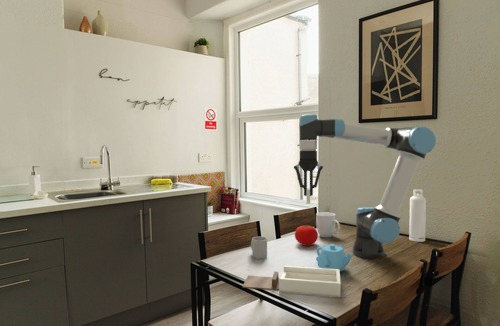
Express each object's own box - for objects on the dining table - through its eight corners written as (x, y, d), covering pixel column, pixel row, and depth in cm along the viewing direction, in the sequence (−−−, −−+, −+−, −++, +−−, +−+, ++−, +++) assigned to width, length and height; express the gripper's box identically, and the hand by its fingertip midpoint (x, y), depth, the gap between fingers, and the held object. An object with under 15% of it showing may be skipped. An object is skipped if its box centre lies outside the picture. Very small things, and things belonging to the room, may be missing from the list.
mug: (344, 237, 202) (345, 214, 201) (334, 241, 194) (334, 218, 193) (323, 232, 212) (323, 211, 211) (312, 236, 205) (312, 214, 204)
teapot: (354, 276, 143) (354, 249, 143) (321, 277, 143) (321, 250, 142) (343, 263, 159) (343, 239, 158) (313, 264, 158) (313, 240, 157)
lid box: (339, 282, 138) (339, 269, 138) (340, 297, 125) (340, 283, 124) (284, 277, 143) (284, 265, 143) (279, 292, 130) (279, 278, 129)
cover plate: (281, 280, 142) (281, 270, 142) (278, 291, 132) (278, 281, 131) (248, 277, 145) (248, 268, 145) (242, 288, 134) (242, 278, 134)
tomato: (321, 244, 187) (321, 225, 187) (305, 249, 180) (305, 229, 180) (307, 240, 197) (307, 221, 196) (290, 243, 190) (290, 224, 189)
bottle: (425, 238, 196) (427, 189, 194) (424, 242, 189) (425, 191, 187) (410, 236, 200) (411, 188, 198) (408, 240, 194) (409, 190, 192)
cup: (258, 260, 165) (258, 241, 164) (245, 254, 173) (245, 237, 172) (270, 256, 169) (270, 238, 169) (257, 251, 177) (257, 234, 177)
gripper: (323, 149, 156) (323, 202, 157) (294, 149, 158) (294, 201, 160) (323, 150, 148) (323, 205, 150) (292, 150, 151) (292, 204, 153)
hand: (308, 203), depth 155 cm, fingers closed
